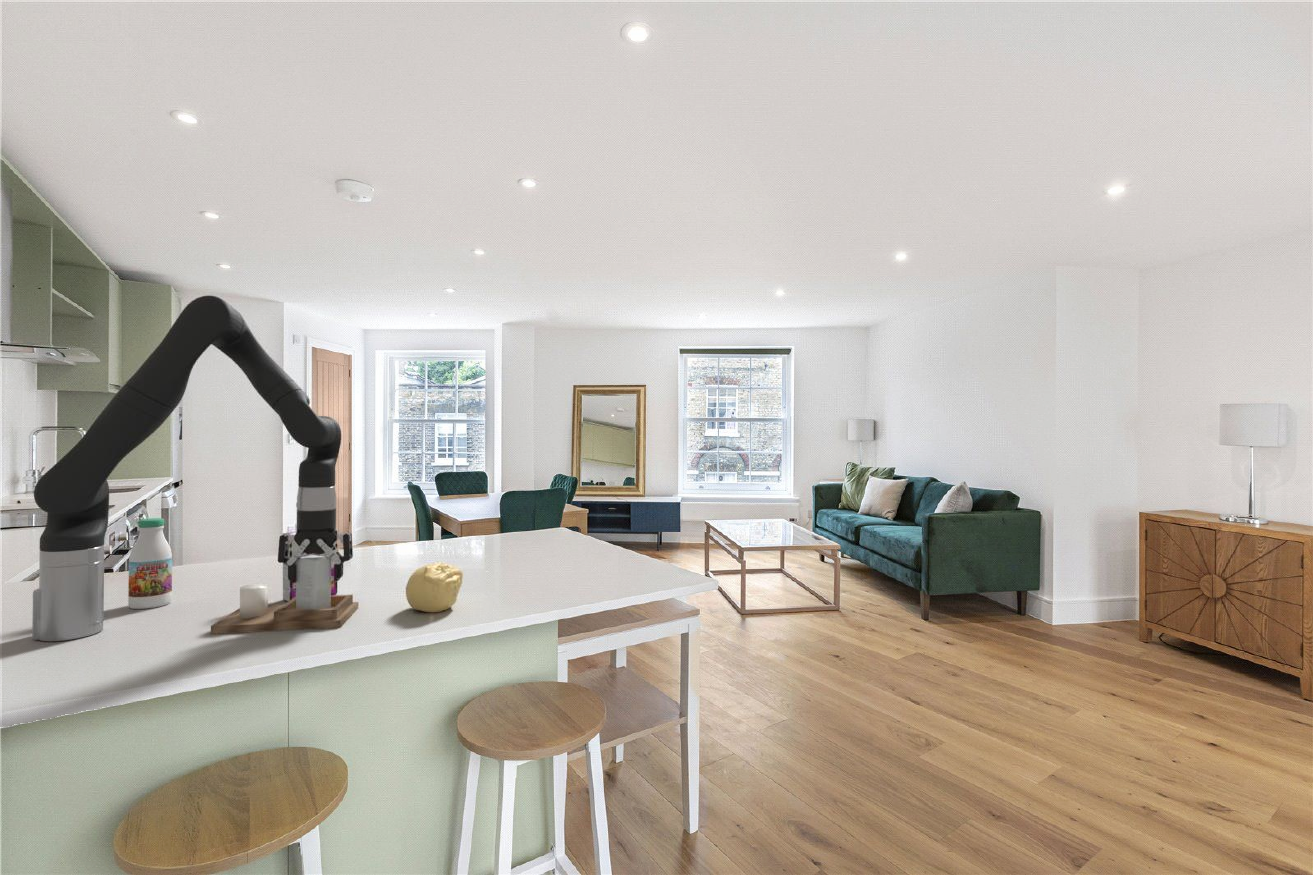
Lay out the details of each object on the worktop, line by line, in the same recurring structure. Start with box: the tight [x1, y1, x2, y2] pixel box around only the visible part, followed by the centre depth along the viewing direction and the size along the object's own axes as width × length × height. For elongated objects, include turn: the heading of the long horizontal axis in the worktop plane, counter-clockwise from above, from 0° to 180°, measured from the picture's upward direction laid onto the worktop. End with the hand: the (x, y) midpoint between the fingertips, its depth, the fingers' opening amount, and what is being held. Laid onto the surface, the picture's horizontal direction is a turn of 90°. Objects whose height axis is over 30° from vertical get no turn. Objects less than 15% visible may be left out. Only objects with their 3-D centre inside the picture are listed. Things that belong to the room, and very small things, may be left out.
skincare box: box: [296, 555, 331, 610], centre depth 131 cm, size 6×4×12 cm
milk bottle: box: [127, 517, 173, 610], centre depth 139 cm, size 8×8×20 cm
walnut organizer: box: [210, 583, 359, 635], centre depth 130 cm, size 24×14×8 cm, turn 103°
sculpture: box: [405, 561, 464, 613], centre depth 140 cm, size 12×12×11 cm
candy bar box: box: [282, 528, 338, 603], centre depth 148 cm, size 11×5×16 cm, turn 143°
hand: (315, 581), depth 131 cm, fingers open, 8 cm apart
